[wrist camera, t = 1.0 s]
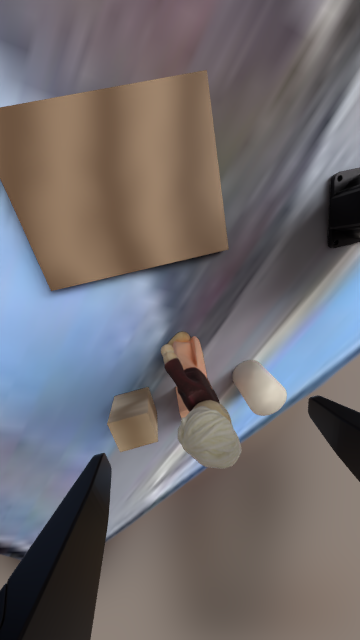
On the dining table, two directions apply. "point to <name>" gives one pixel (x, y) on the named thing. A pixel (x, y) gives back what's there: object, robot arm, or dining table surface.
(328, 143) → the dining table surface
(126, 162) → the walnut board
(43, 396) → the dining table surface
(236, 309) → the dining table surface
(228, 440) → the grandmother figurine
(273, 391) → the off-white cylinder
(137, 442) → the beech block
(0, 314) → the dining table surface
